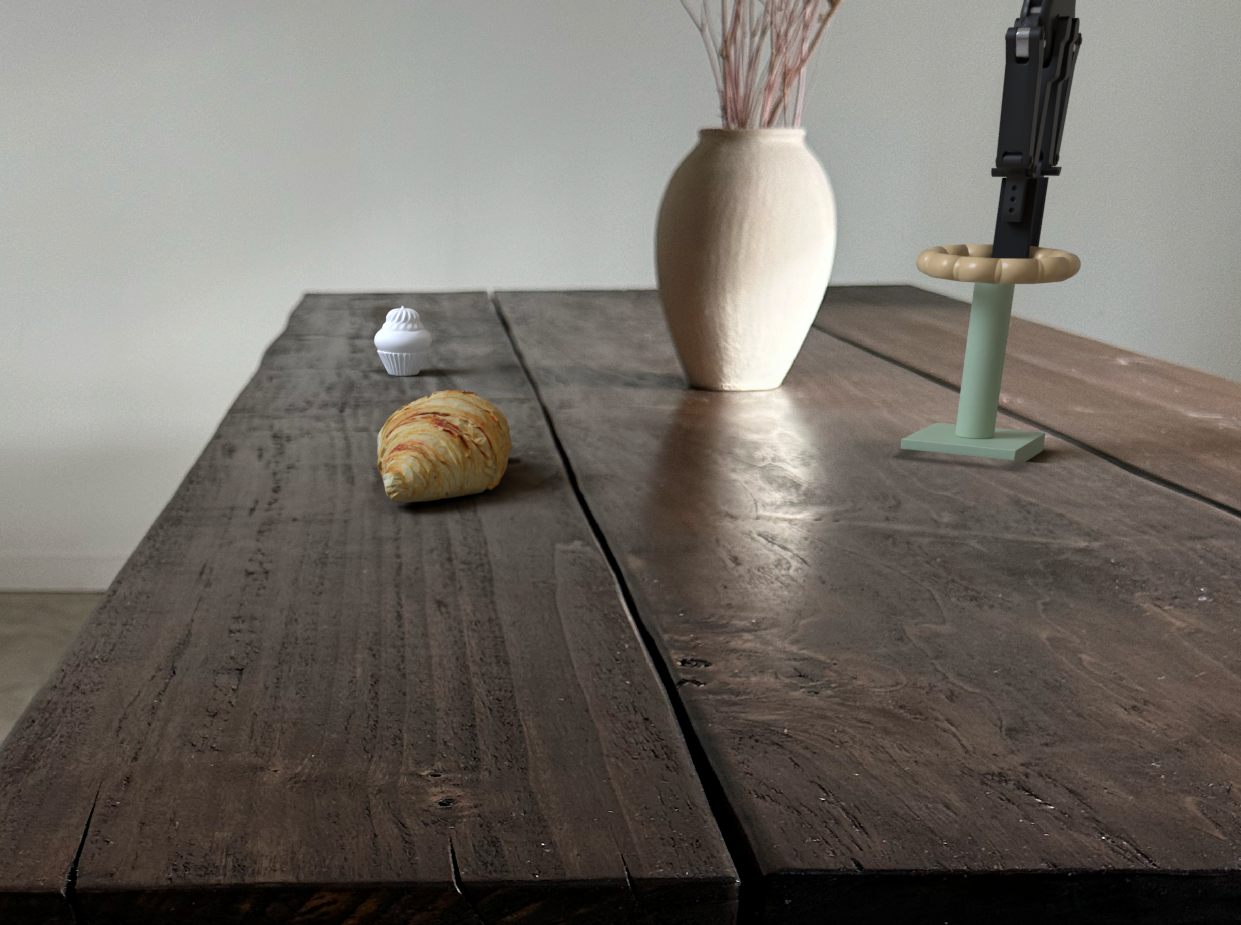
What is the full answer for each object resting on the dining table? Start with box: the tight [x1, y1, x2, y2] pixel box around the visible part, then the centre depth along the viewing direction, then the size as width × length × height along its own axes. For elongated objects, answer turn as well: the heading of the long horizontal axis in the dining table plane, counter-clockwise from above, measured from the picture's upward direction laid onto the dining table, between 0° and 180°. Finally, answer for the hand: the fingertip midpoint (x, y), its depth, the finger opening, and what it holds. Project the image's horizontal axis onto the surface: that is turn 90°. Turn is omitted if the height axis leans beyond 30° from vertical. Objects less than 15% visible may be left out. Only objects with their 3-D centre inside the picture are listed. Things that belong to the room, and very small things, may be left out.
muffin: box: [373, 305, 433, 377], centre depth 170 cm, size 6×6×7 cm
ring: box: [915, 243, 1082, 285], centre depth 124 cm, size 12×12×2 cm
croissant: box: [376, 389, 512, 503], centre depth 118 cm, size 21×10×8 cm, turn 162°
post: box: [900, 282, 1046, 462], centre depth 127 cm, size 9×9×14 cm
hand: (1013, 264), depth 128 cm, fingers closed on ring, 2 cm apart
